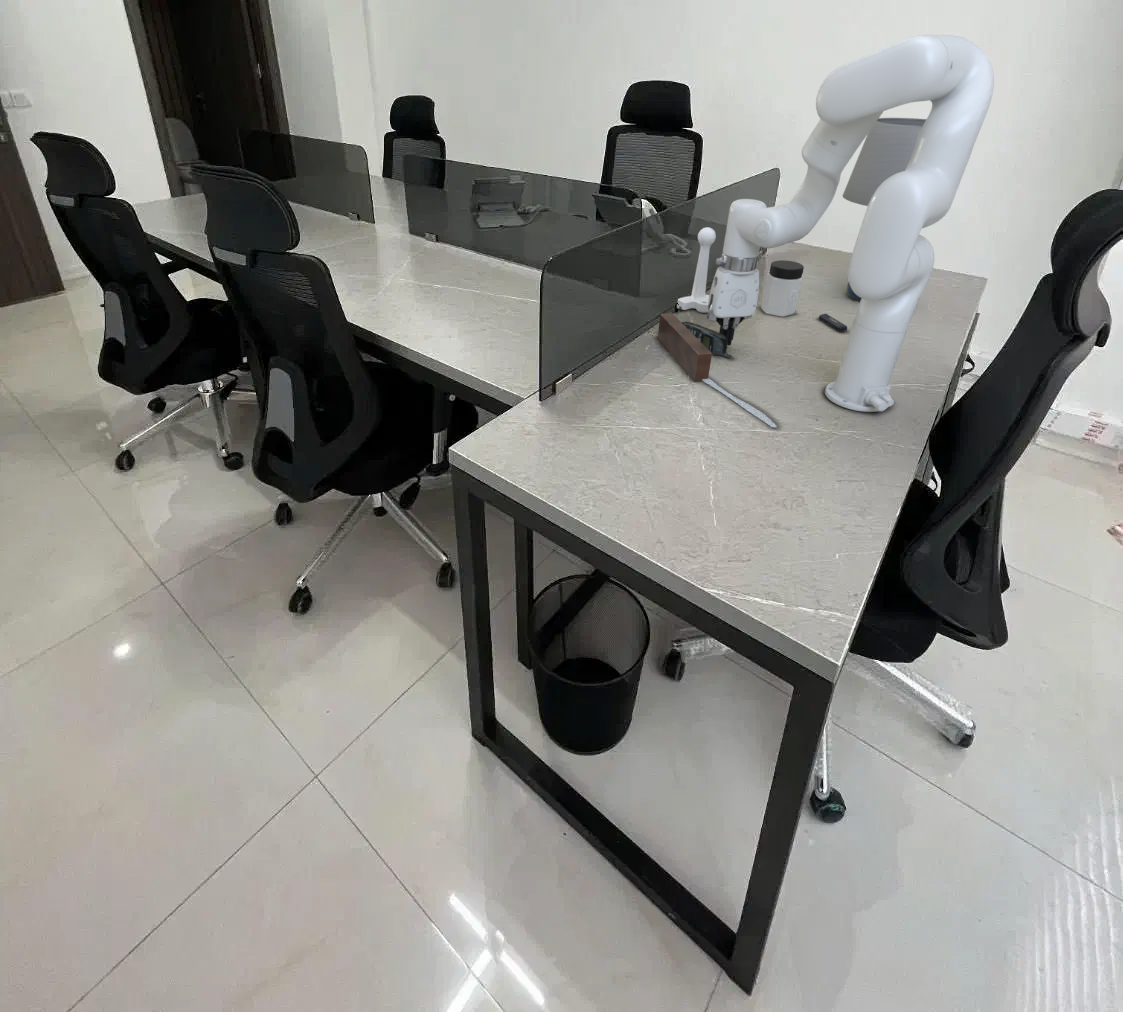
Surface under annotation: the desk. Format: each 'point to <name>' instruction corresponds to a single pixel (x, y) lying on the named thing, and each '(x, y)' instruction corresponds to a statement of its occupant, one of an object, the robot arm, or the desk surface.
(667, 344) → the wooden block
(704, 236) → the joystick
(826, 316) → the usb stick
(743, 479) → the desk surface
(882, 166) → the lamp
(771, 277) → the jar
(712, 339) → the mobile phone
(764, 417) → the butter knife
